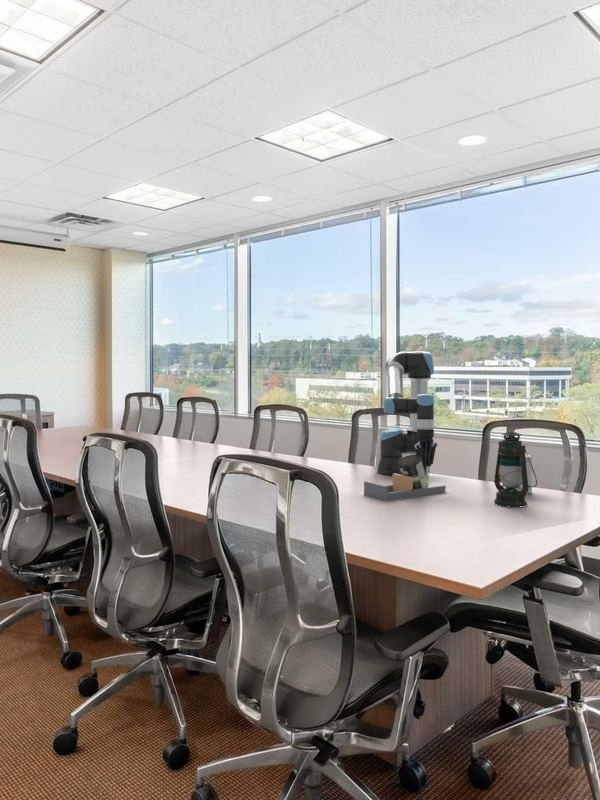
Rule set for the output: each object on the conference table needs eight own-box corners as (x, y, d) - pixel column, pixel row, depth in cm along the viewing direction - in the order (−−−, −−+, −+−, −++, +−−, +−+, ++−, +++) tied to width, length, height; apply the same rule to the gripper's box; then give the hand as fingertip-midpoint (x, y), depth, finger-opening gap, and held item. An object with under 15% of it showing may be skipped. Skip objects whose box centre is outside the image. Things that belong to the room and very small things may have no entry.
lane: (422, 487, 289) (422, 474, 289) (445, 492, 277) (445, 479, 277) (363, 495, 270) (364, 481, 269) (385, 500, 258) (385, 486, 257)
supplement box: (526, 490, 283) (527, 453, 282) (532, 494, 274) (533, 456, 273) (505, 489, 284) (506, 453, 283) (510, 493, 275) (510, 456, 274)
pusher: (395, 491, 277) (395, 473, 277) (412, 495, 268) (412, 477, 268) (392, 491, 277) (392, 473, 276) (409, 495, 267) (410, 477, 267)
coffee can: (413, 496, 271) (404, 467, 267) (402, 489, 280) (394, 461, 277) (433, 486, 273) (425, 458, 270) (421, 480, 283) (413, 452, 279)
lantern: (482, 500, 259) (483, 429, 258) (509, 498, 265) (511, 428, 263) (514, 510, 241) (515, 433, 240) (543, 507, 247) (544, 432, 245)
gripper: (429, 427, 285) (429, 477, 286) (409, 428, 278) (409, 480, 279) (441, 428, 279) (441, 480, 280) (421, 429, 271) (421, 483, 272)
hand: (425, 480), depth 279 cm, fingers closed
